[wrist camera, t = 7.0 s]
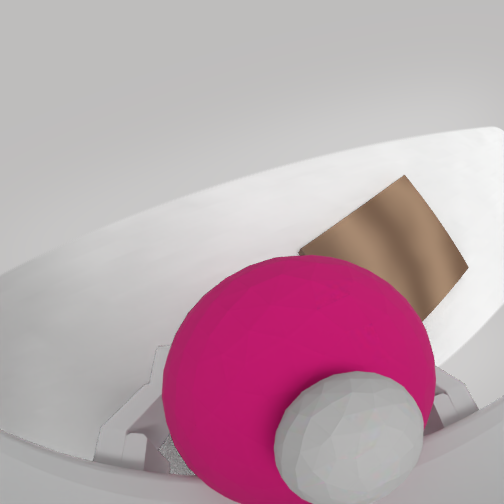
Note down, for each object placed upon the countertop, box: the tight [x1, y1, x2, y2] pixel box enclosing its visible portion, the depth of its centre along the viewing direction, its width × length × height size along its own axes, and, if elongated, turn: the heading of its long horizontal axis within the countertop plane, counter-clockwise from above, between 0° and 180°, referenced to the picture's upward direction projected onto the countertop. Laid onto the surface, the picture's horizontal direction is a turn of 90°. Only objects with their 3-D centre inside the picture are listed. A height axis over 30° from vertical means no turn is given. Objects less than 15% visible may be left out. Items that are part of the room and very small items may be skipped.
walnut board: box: [298, 175, 469, 321], centre depth 22 cm, size 13×11×1 cm
